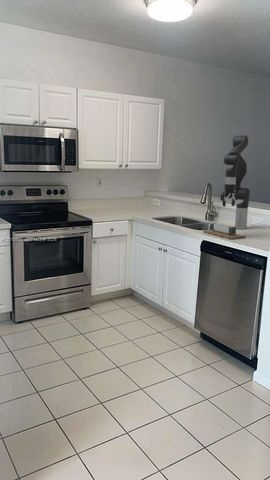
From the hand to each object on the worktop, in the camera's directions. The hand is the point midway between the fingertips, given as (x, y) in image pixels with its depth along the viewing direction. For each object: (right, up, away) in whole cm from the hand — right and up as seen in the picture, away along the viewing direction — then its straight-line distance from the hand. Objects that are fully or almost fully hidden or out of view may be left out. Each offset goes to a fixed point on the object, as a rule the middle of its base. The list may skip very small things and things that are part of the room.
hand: (228, 206), depth 279 cm
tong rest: (-2, -21, +7) cm, 22 cm away
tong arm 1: (-3, -19, +5) cm, 20 cm away
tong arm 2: (-1, -18, +7) cm, 20 cm away
